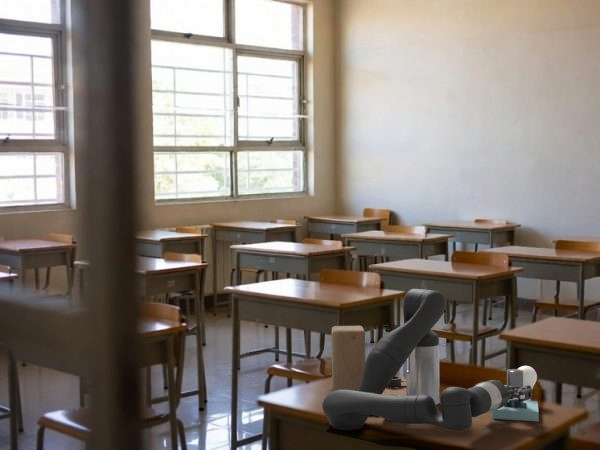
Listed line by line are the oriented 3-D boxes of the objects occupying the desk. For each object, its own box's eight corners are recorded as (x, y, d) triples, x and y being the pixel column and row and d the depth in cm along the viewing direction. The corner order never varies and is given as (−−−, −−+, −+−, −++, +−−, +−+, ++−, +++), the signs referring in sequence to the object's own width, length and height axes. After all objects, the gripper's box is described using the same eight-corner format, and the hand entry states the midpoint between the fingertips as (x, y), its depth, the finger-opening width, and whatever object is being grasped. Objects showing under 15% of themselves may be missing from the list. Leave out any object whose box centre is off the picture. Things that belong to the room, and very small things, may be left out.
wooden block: (365, 395, 242) (365, 330, 241) (333, 396, 242) (332, 330, 241) (363, 388, 252) (363, 325, 251) (332, 388, 252) (331, 325, 251)
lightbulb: (538, 406, 227) (537, 368, 226) (515, 406, 228) (515, 367, 228) (536, 401, 233) (535, 364, 232) (514, 400, 234) (514, 363, 234)
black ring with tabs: (399, 391, 248) (399, 381, 248) (372, 386, 254) (372, 377, 254) (412, 386, 254) (412, 377, 254) (385, 382, 260) (385, 373, 260)
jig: (492, 418, 215) (492, 409, 215) (493, 407, 227) (493, 398, 227) (538, 421, 212) (538, 412, 212) (537, 409, 224) (537, 400, 224)
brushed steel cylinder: (506, 415, 218) (506, 372, 218) (506, 411, 222) (506, 368, 222) (523, 416, 217) (523, 372, 217) (523, 412, 221) (523, 369, 221)
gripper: (462, 406, 210) (490, 396, 222) (513, 416, 201) (539, 404, 213) (462, 378, 210) (491, 369, 222) (513, 386, 201) (539, 376, 213)
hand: (514, 386), depth 218 cm, fingers open, 8 cm apart
